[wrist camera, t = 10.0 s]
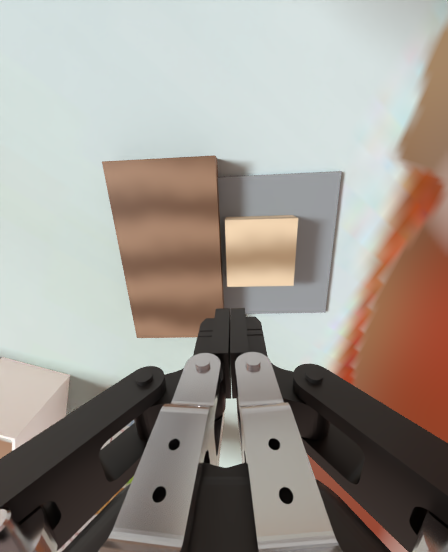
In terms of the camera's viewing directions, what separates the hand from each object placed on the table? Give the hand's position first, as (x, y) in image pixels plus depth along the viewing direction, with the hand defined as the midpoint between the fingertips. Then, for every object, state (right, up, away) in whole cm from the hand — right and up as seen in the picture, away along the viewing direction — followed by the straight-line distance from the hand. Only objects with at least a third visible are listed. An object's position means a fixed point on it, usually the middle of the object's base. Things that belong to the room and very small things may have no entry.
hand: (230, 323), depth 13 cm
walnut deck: (-7, +6, +19) cm, 21 cm away
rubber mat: (+6, +6, +19) cm, 20 cm away
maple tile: (+4, +6, +18) cm, 20 cm away
